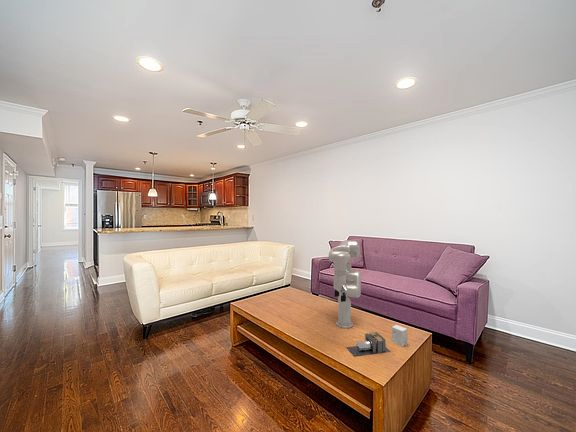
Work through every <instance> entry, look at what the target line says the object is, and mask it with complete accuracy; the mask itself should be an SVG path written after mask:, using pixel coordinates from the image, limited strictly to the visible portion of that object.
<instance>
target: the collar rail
mask: <svg viewBox="0 0 576 432" xmlns="http://www.w3.org/2000/svg"><path fill="white" fill-rule="evenodd" d="M364 338H365V339H364V341H368V340H371V341H372V349H369V350H362V351H358V349H357V347H356V345H354V346H348V347H345V349H346V350H348V351H349V353H350V354H351V355H352V356H353V358H357V357H363V356H372V355H378V354H386V353H392V351H391V350H390V349H389V348H388V347H387V346H386V347H385V341H386V338H384V337H383V336H382V335H381V334H379V332H377V331H375V332H374V331H370V332H368V333H365V334H364ZM376 340H377V349H376Z"/></svg>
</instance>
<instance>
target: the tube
mask: <svg viewBox="0 0 576 432" xmlns="http://www.w3.org/2000/svg"><path fill="white" fill-rule="evenodd" d="M355 346H356V347H357V349H358V351H362V350H369V349H372V341H371V340H368V341H365V340H361V341H356V343H355ZM385 347H386V348H387V342H386V340H385ZM376 349H377V340H376Z"/></svg>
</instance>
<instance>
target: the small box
mask: <svg viewBox="0 0 576 432" xmlns="http://www.w3.org/2000/svg"><path fill="white" fill-rule="evenodd" d="M391 342H392V343H395V344H396V345H399V346H400V347H405V346H408V328H406V327H404V326H402V325H398V324H395V325H392V326H391Z"/></svg>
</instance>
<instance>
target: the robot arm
mask: <svg viewBox="0 0 576 432" xmlns="http://www.w3.org/2000/svg"><path fill="white" fill-rule="evenodd" d="M360 251H361V250H360V245H359V243H358V241H356V240H343V241H341V242H340V243H339V245H338V246H335V247H332V248H331V249H330V250H329V253H328V260H329V261H330V263H333V265H334V267H333V270H334V271H333V274H334V275H333V289H334V297H337V304H338V305H337V307H338V309H337V321H335V324H336V326H338V327H339V328H342V329H350V328H352V327H353V326H354V323H353V321H352V301H351V299H350V298H360V296H361V293H362V275H361V274H362V273H361V272H360V271H359V270H352V263H351V262H350V260H351V259H356V260H357V259H358V258H360V255H361V252H360Z"/></svg>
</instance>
